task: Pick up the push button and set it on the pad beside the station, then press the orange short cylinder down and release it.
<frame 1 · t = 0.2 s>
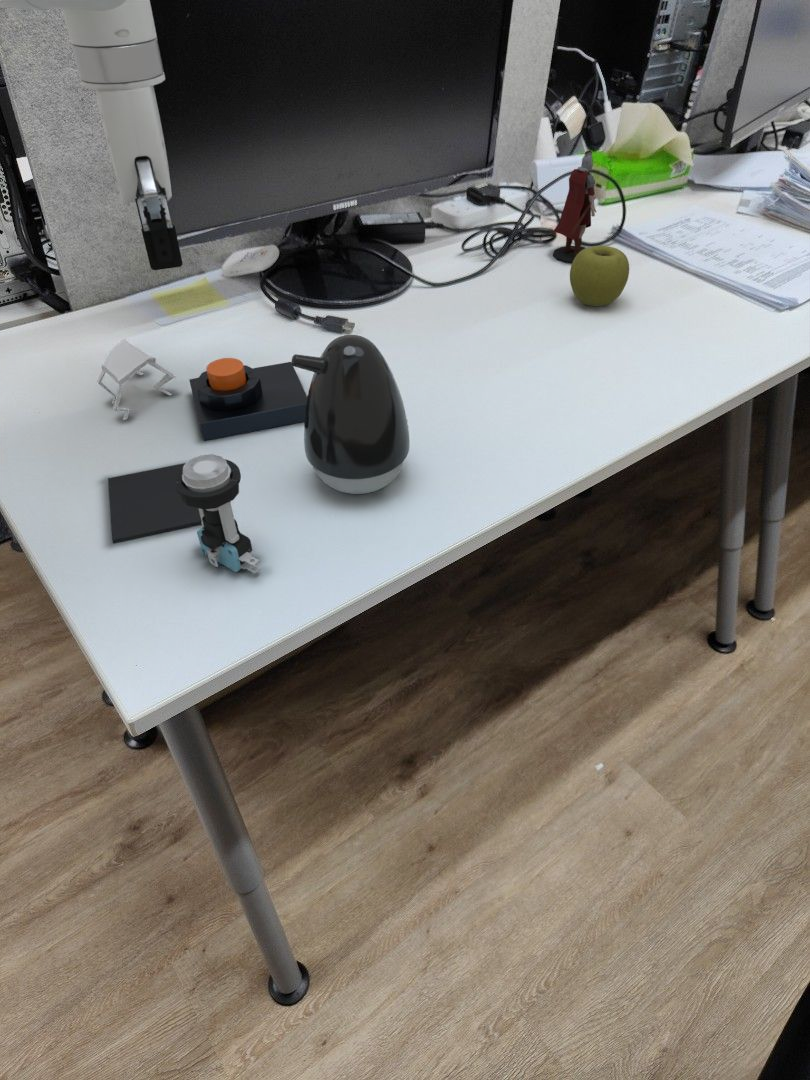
hand: (162, 250, 81), 16 cm above the table, tool pointing down, fingers open, 9 cm apart
figurine: (572, 257, 119), on the table
pump dispenser: (358, 479, 77), on the table
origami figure: (139, 393, 90), on the table
pad: (163, 499, 75), on the table
station: (251, 407, 87), on the table
push button: (232, 562, 68), on the table
apple: (594, 303, 106), on the table
orange short cylinder: (226, 374, 84), point 5 cm above the table, slide at 0.1 cm
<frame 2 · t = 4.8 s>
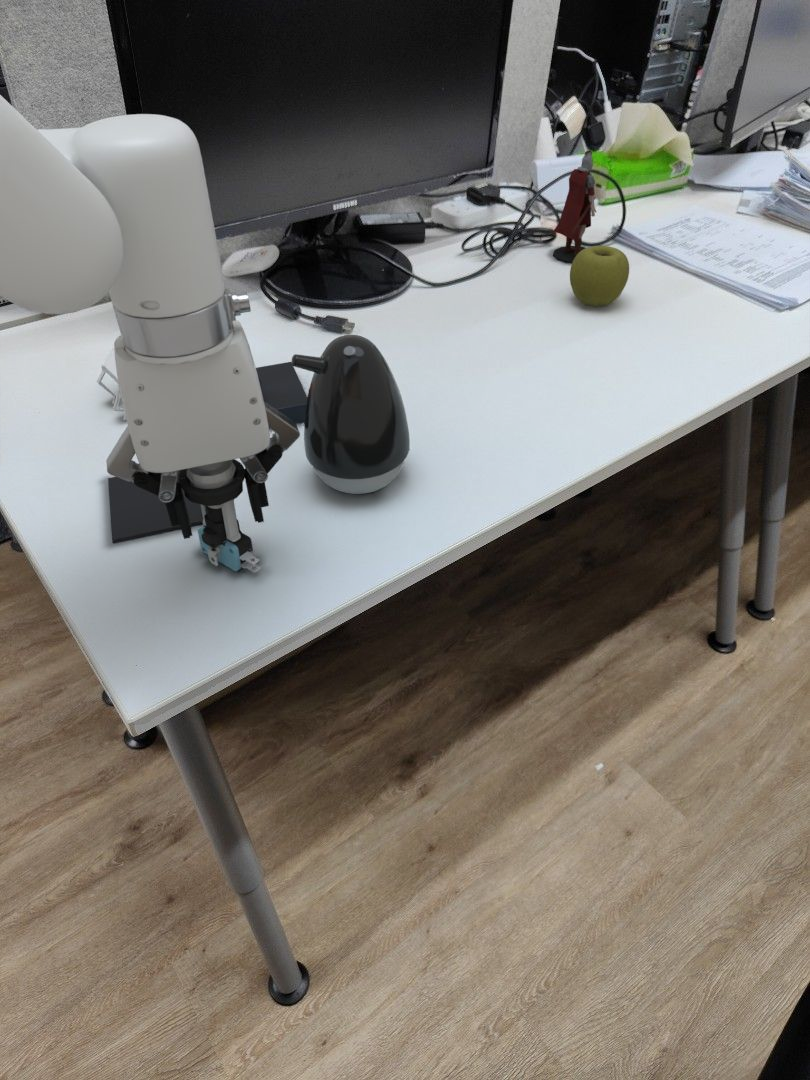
hand: (221, 518, 65), 5 cm above the table, tool pointing down, fingers closed on push button, 5 cm apart
push button: (231, 561, 68), on the table, touching gripper
everything else where it was.
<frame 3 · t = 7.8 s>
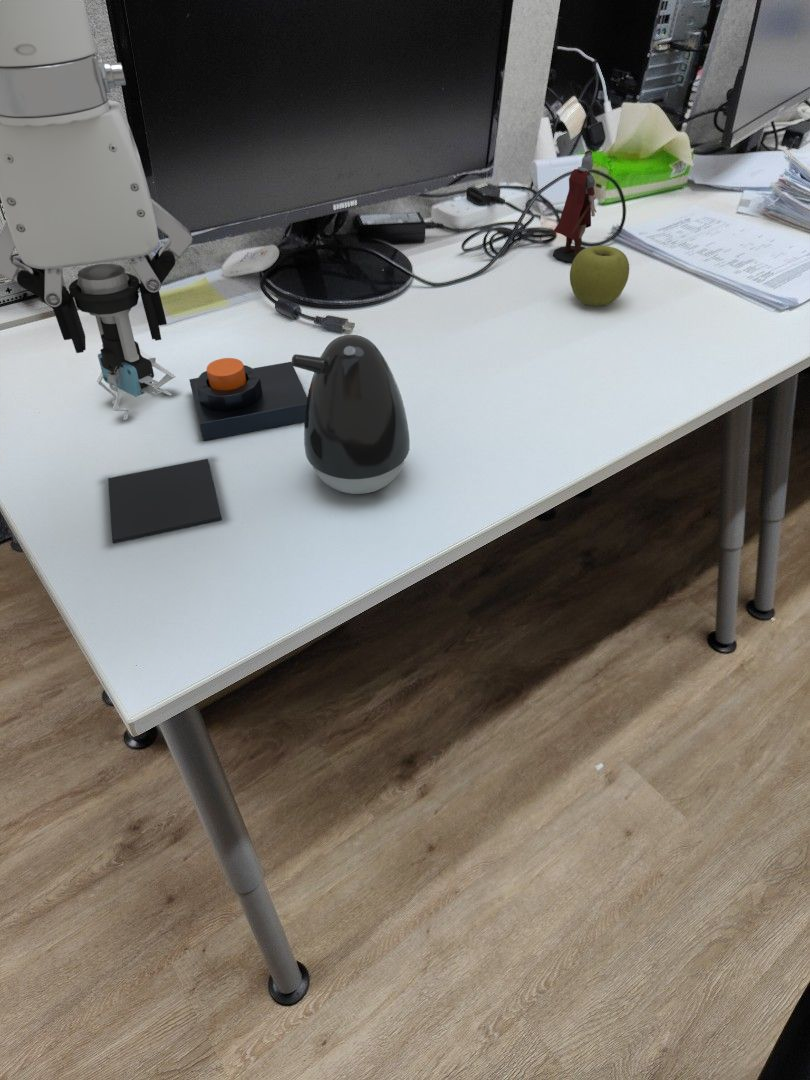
hand: (118, 337, 63), 17 cm above the table, tool pointing down, fingers closed on push button, 5 cm apart
push button: (134, 390, 66), point 12 cm above the table, touching gripper
everything else where it was.
when the fingers open (5 cm above the table, at t = 11.0 s): push button stays where it is, resting on pad.
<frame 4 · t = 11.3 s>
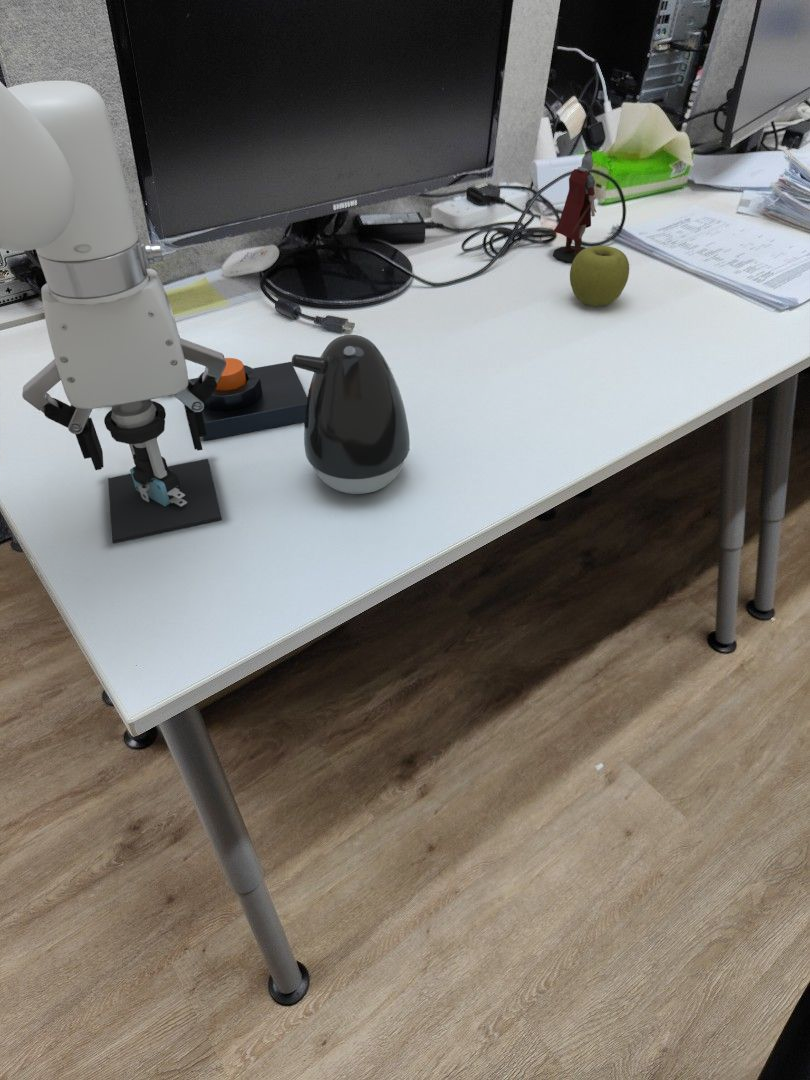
hand: (148, 451, 71), 6 cm above the table, tool pointing down, fingers open, 8 cm apart
push button: (163, 498, 74), resting on pad
everything else where it was.
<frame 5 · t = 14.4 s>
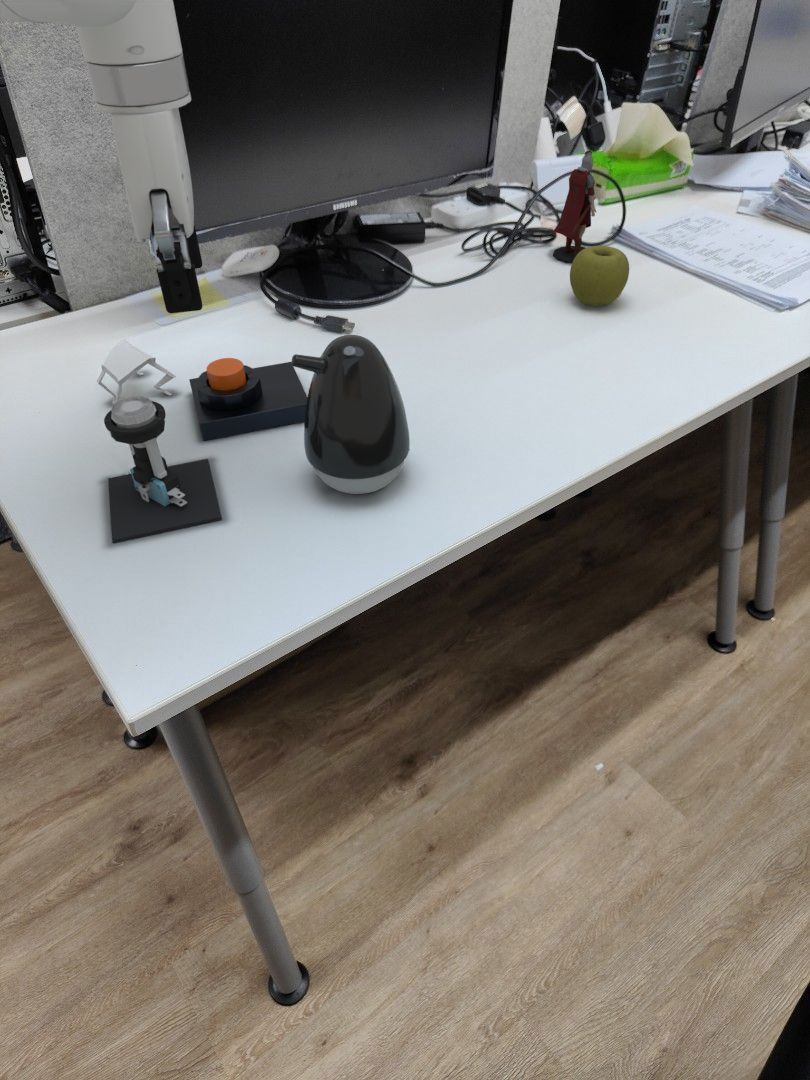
hand: (186, 288, 73), 16 cm above the table, tool pointing down, fingers open, 9 cm apart
nothing on the table moved.
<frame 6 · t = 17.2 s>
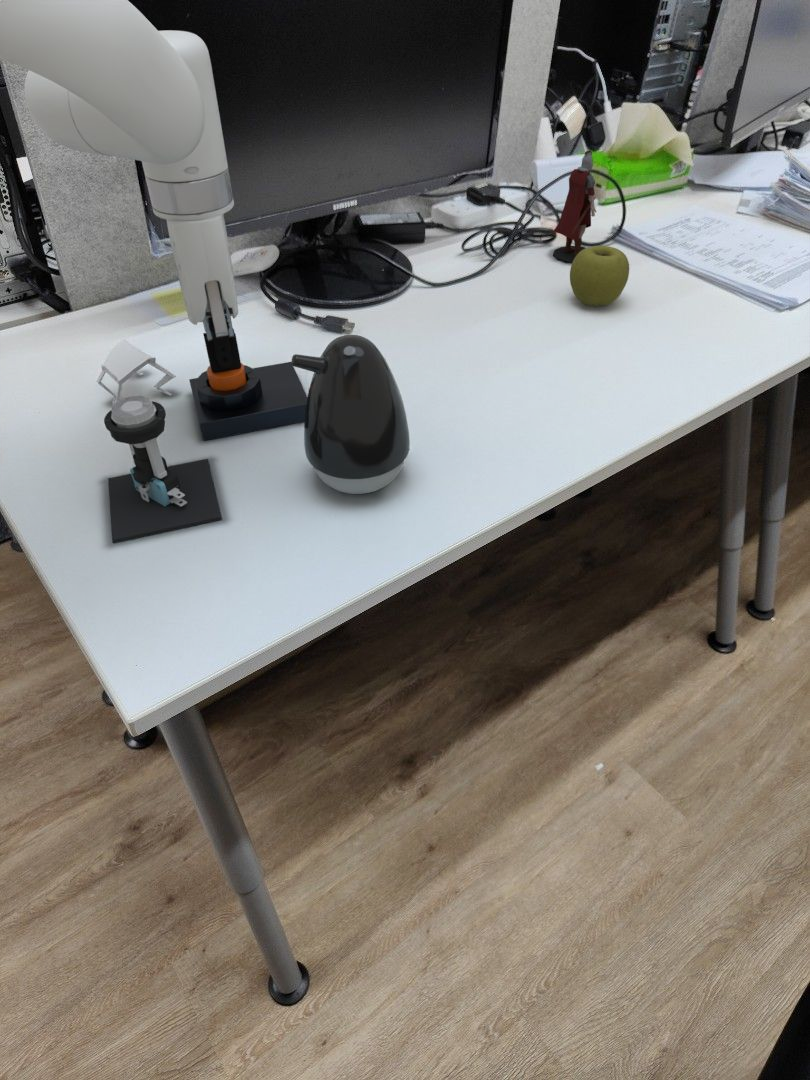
hand: (226, 367, 83), 5 cm above the table, tool pointing down, fingers closed
orange short cylinder: (226, 376, 84), point 4 cm above the table, slide at -0.2 cm, touching gripper
everything else where it was.
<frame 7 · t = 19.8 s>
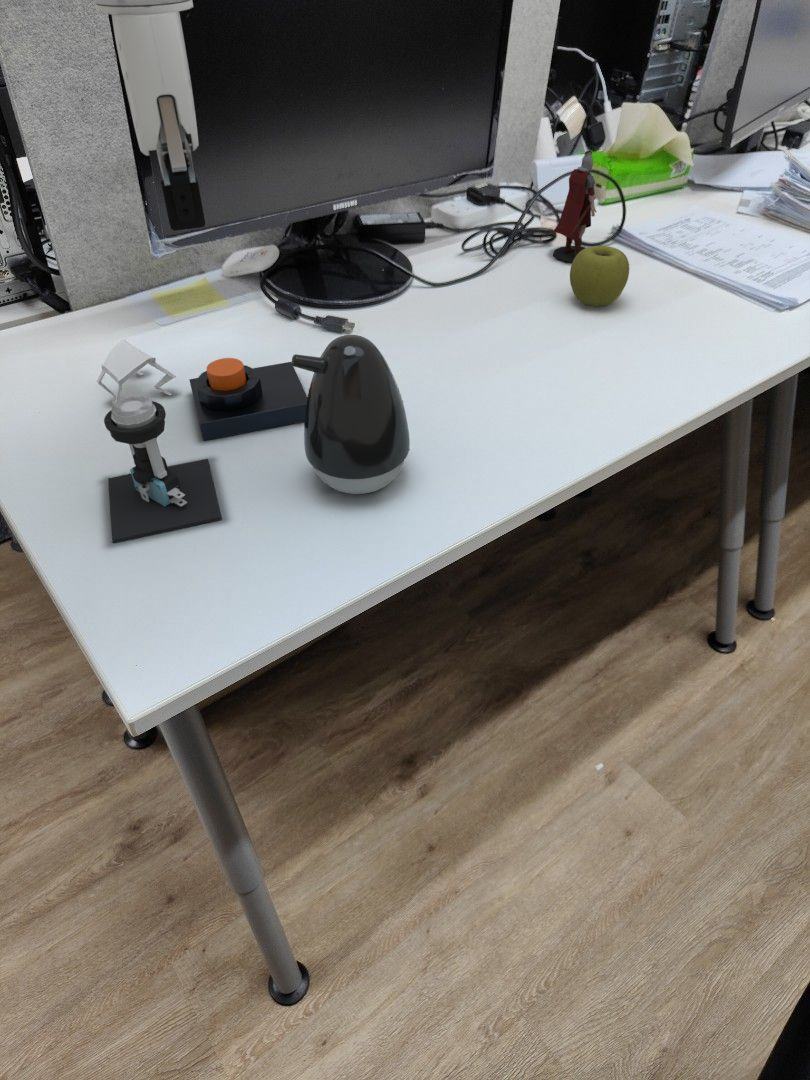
hand: (187, 225, 72), 21 cm above the table, tool pointing down, fingers closed
orange short cylinder: (226, 374, 84), point 5 cm above the table, slide at 0.1 cm
everything else where it was.
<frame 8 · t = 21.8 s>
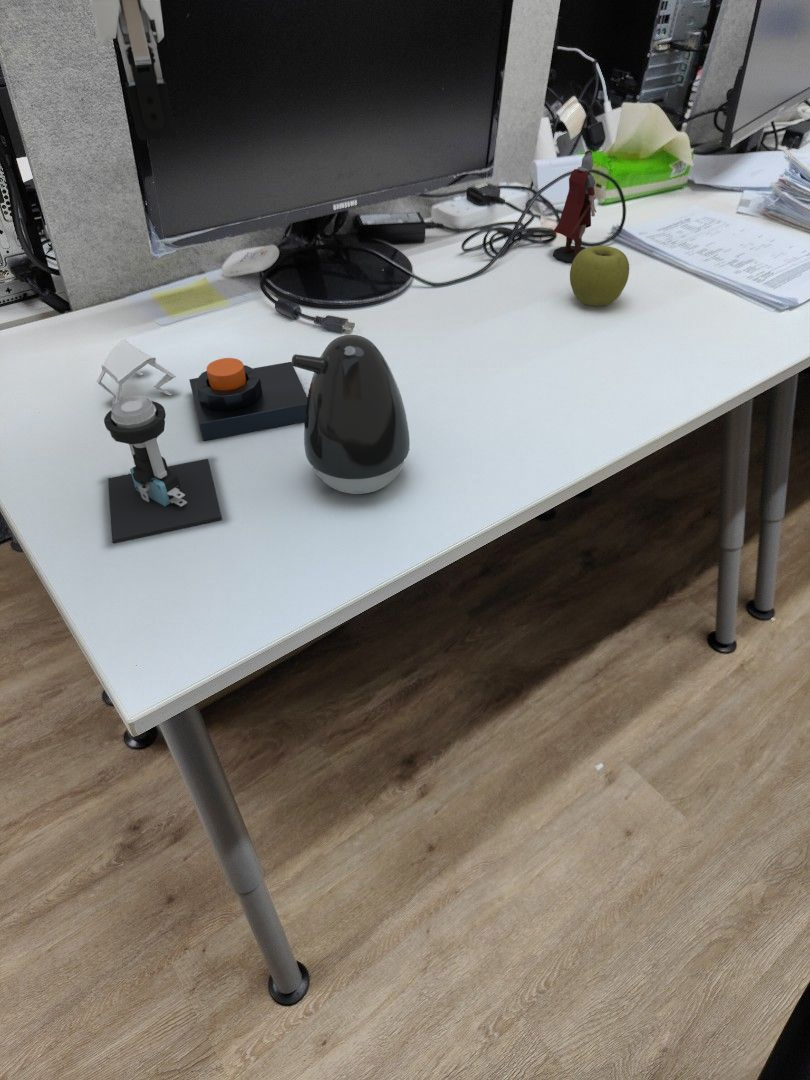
hand: (156, 135, 65), 29 cm above the table, tool pointing down, fingers closed
nothing on the table moved.
at the end: push button inside the target area on the pad (0.0 cm from its centre), point 0.2 cm above the pad's base; orange short cylinder pushed in 1.1 cm at the most during the clip, back to where it started at the end; orange short cylinder slide at 0.1 cm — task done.
